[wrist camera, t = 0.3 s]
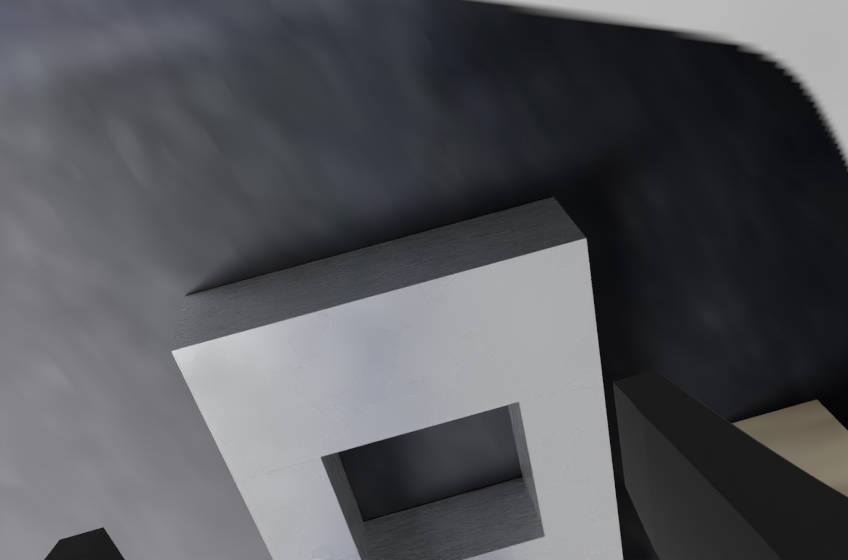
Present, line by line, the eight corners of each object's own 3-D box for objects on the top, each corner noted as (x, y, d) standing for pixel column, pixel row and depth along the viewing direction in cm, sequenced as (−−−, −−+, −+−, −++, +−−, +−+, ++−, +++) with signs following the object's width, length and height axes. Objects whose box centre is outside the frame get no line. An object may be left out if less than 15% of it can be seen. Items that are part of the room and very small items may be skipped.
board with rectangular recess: (609, 610, 29) (635, 671, 27) (360, 682, 28) (366, 749, 26) (553, 197, 20) (586, 237, 17) (184, 296, 19) (171, 351, 17)
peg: (810, 482, 27) (960, 659, 21) (705, 511, 27) (826, 699, 21) (816, 399, 25) (985, 569, 19) (703, 431, 25) (837, 613, 19)
